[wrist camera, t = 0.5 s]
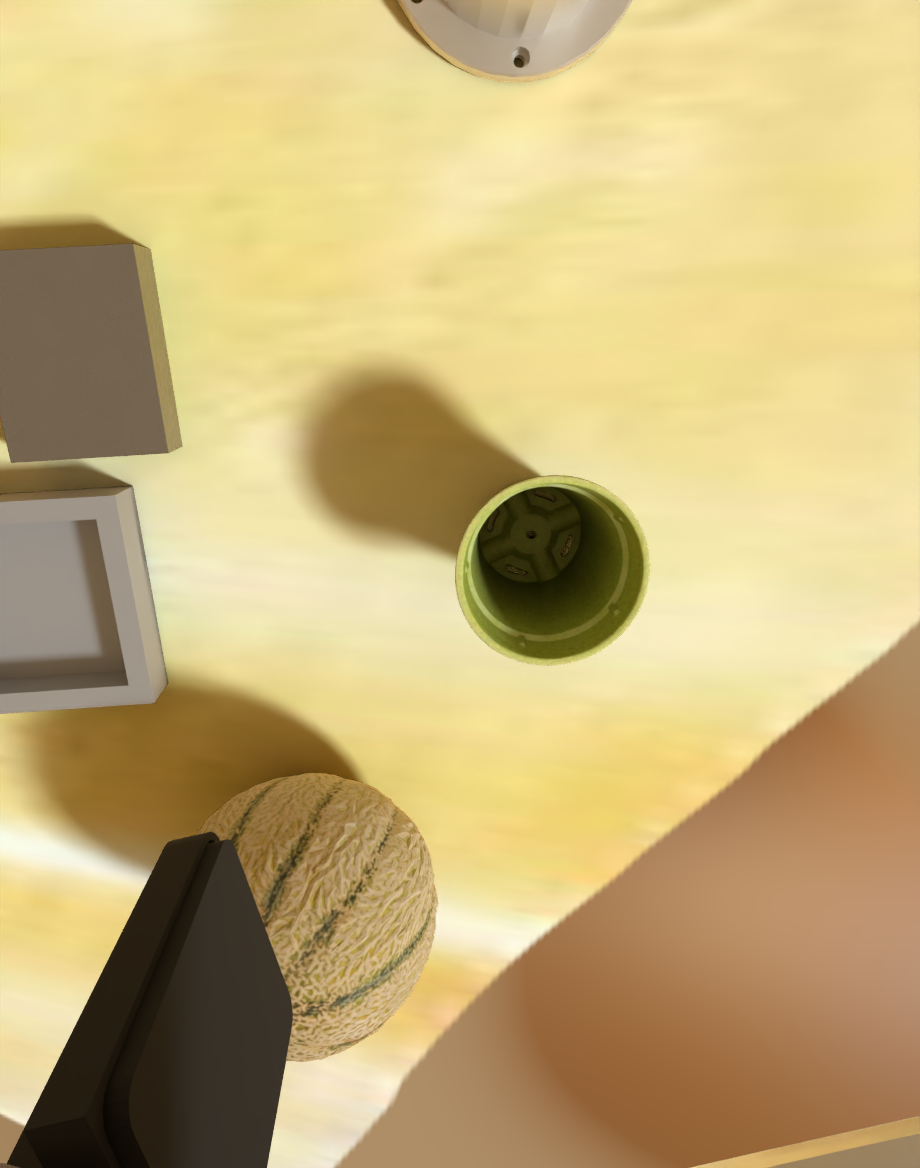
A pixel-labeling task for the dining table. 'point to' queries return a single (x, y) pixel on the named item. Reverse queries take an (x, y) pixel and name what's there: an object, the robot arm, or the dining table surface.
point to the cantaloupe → (335, 901)
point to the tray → (75, 603)
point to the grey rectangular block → (83, 355)
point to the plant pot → (552, 571)
